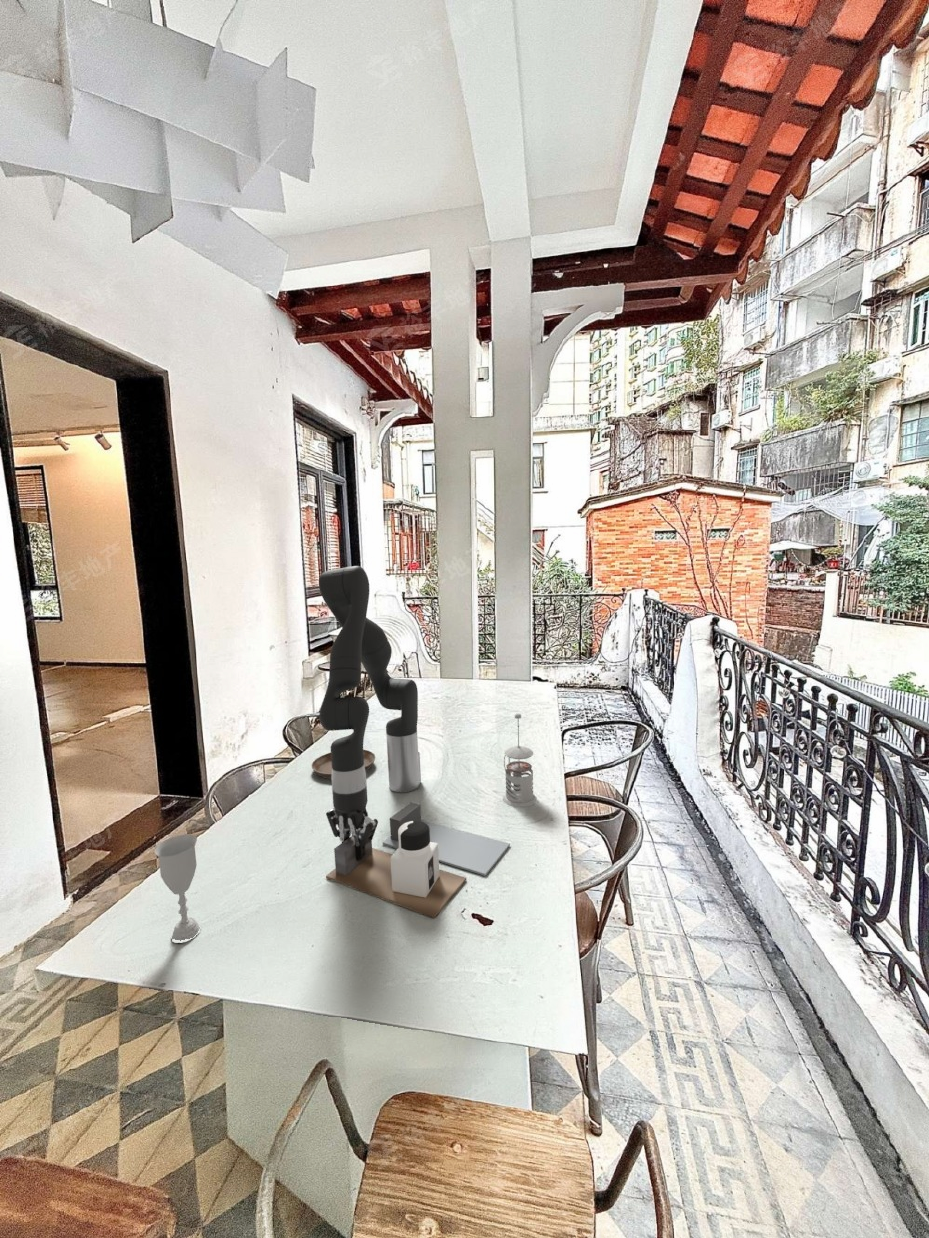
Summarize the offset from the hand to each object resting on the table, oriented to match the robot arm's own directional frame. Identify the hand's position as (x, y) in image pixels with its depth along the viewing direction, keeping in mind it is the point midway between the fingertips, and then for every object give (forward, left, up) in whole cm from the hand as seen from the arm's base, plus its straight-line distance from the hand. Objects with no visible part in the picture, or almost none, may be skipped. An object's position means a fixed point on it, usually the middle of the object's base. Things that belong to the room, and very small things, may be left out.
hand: (354, 856), depth 117 cm
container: (0, +17, -2) cm, 17 cm away
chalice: (+31, -14, -2) cm, 34 cm away
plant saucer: (-40, -39, -3) cm, 56 cm away
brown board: (0, +11, -2) cm, 12 cm away
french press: (-46, +21, -2) cm, 50 cm away
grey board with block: (-16, +15, -2) cm, 22 cm away
